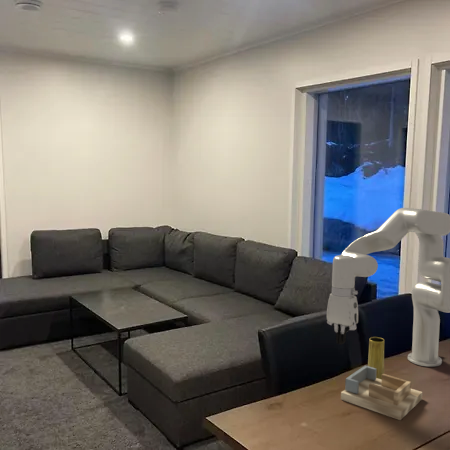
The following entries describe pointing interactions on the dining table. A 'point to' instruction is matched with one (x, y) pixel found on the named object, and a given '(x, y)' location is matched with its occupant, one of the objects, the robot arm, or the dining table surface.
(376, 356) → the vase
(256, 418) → the dining table surface
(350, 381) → the grey bracket
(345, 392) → the board
